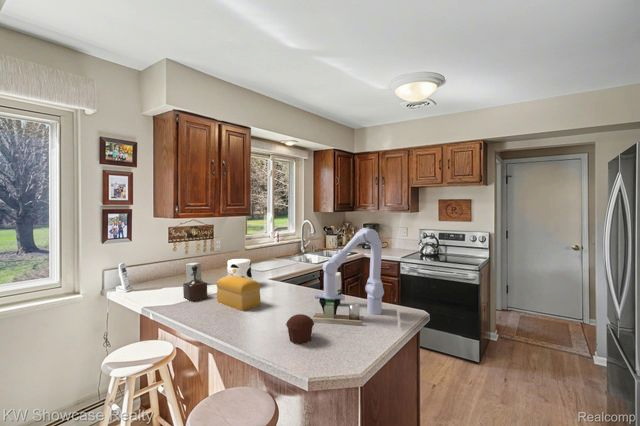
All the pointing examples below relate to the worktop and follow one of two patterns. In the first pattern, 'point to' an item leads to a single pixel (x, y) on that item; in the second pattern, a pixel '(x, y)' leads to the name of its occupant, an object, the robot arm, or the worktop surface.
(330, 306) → the tea box
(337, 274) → the milk carton
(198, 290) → the pepper mill
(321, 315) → the shelf board
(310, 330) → the muffin
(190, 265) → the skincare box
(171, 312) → the worktop surface
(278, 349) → the worktop surface
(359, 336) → the worktop surface
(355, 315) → the metal can
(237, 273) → the milk container
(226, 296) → the bread
